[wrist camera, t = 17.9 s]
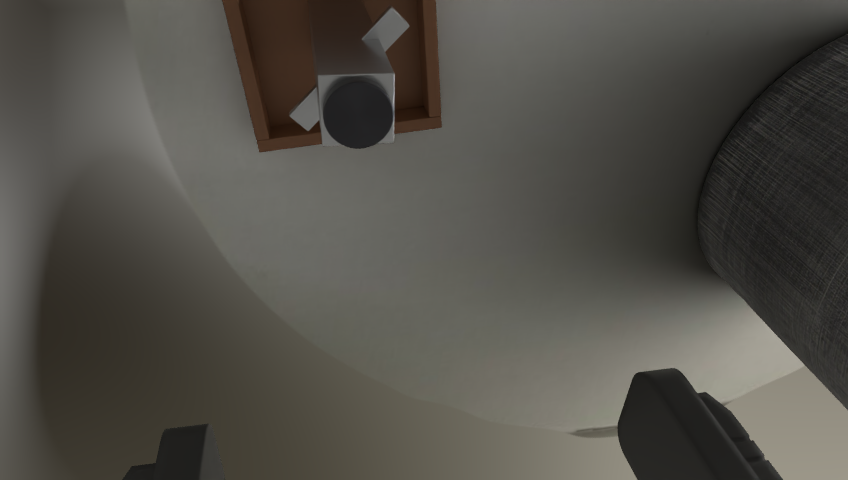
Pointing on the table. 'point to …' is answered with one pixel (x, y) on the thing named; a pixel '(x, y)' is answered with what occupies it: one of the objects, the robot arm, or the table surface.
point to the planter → (789, 212)
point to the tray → (294, 71)
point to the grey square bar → (351, 74)
